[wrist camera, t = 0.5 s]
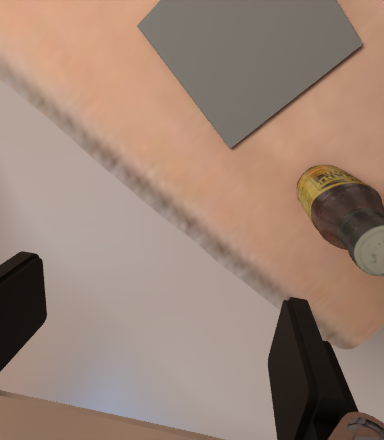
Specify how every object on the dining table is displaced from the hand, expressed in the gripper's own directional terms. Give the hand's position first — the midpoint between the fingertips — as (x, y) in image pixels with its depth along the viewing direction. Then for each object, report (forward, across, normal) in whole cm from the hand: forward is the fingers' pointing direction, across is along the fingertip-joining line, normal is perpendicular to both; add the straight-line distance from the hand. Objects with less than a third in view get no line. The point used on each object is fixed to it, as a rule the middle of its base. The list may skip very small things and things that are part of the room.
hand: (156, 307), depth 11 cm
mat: (+31, -2, -15) cm, 34 cm away
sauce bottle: (+31, -14, +1) cm, 34 cm away
